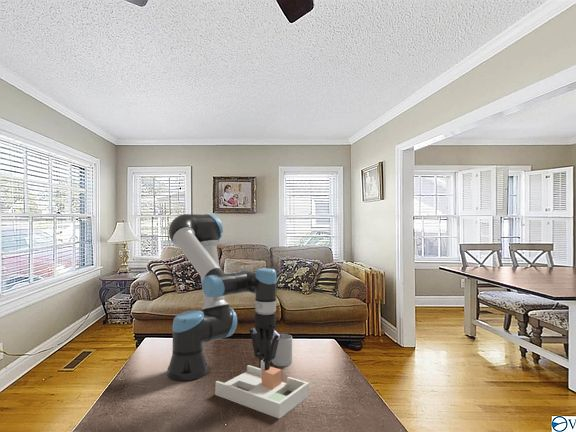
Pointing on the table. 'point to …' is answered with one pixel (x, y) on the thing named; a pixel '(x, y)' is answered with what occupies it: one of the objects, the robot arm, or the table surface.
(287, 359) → the mug
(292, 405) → the box
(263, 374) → the block
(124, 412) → the table surface
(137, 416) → the table surface
